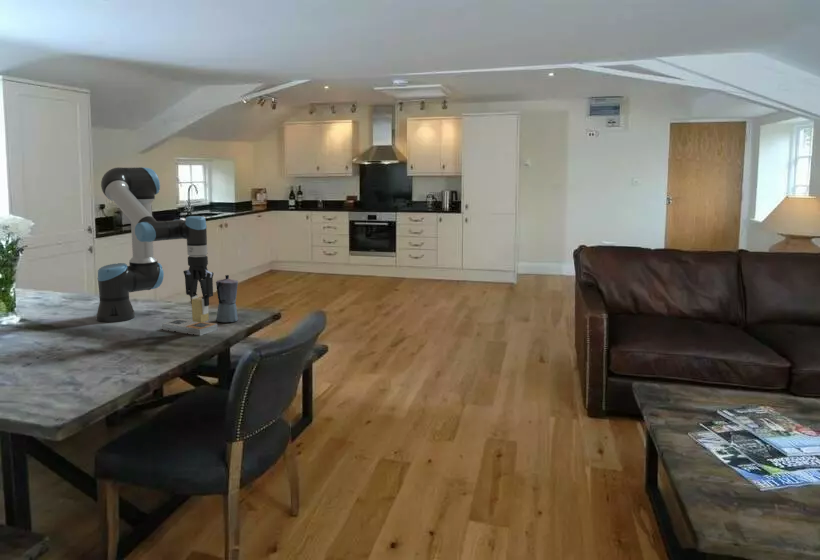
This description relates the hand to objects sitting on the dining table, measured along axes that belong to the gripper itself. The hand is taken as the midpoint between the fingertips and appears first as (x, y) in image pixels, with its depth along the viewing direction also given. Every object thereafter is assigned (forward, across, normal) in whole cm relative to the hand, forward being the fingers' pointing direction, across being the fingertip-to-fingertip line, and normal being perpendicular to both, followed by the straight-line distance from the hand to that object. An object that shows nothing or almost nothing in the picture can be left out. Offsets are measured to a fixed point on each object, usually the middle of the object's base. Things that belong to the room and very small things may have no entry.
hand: (200, 312), depth 251 cm
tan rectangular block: (+3, 0, 0) cm, 3 cm away
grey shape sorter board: (+8, -6, 0) cm, 10 cm away
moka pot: (+8, -2, +18) cm, 20 cm away
